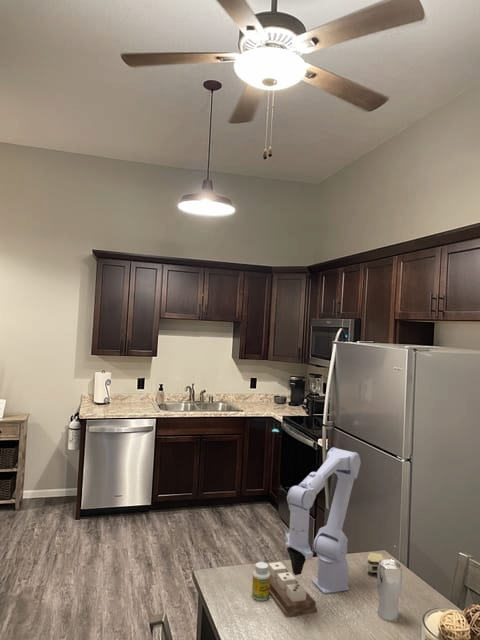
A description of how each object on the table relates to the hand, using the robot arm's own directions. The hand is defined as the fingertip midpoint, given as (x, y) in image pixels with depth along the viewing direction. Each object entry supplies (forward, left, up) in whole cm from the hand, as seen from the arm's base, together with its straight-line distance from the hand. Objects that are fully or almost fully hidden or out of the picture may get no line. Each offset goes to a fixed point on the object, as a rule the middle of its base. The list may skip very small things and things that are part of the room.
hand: (297, 573), depth 140 cm
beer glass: (-25, +11, -10) cm, 29 cm away
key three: (0, 0, -7) cm, 7 cm away
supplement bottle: (+8, -8, -10) cm, 15 cm away
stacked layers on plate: (-37, -12, -10) cm, 40 cm away
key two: (0, -7, -7) cm, 10 cm away
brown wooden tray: (0, -7, -10) cm, 12 cm away
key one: (0, -14, -7) cm, 16 cm away
